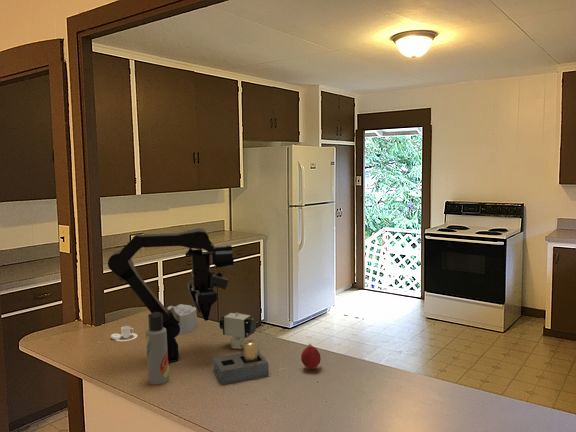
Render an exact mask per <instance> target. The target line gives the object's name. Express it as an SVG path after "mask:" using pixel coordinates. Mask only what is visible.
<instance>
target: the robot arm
mask: <svg viewBox="0 0 576 432" xmlns="http://www.w3.org/2000/svg"><path fill="white" fill-rule="evenodd" d="M160 247H162V248H163V247H184V248H188V250H187V251H186V252H184V253H185V254H184V255H185V257H190V258H191V271H190V274H191V277H192V279H190V280H189V281H188V282H187V289H188V293H189V294H190V296H191V298H192V300H193V302H194V304H195V308H196V310H197V311H198V313H200V314H201V316H202V318H203V320H204V321H205V322H206V321H209V319H210V314H211V308H212V305H214V303H216V302H217V301H219V294H218V292H216V291H215V290H214V288H219V289H222V290H227V288H228V285H229V282H230V280H229V279H228V278H227V277H225V276H223V273H222V272H220V271H216V272H215V273H213V272H212V271H211V265H214V266H215V268H232V267H234V264H235V262H234V254H233V246H232V245H231V244H229V245H223V246H215V245H214V243H213V242H212V241H211V240H210V238H209V234H208V231H206V230H205V229H204V228H201V227H200V228H198V227H197V228H195V229H189V230H185V231H182V232H175V233H173V232H172V233H150V234H149V233H146V234H142V233H136V234H134V236H133V237H132V238H131V240H129V241H128V242H127V244H125V246H124V247H123V248H122V249H121V250H116V251H114V252H113V253H112V254H111V255H110V257H109V258H108V260H107V266H108V269H109V270H110V271H111V272H112V273H114V274H115V275H116V276H117V277H118V278H120V279H121V280H123V281H125V282H126V283H127V284H128V286H129V287H130V289H131V290H132V291H133V292H134V293H135V294H136V296H137V297H138V299H140V300H141V302H142V303H143V304H144V305H145V307H146V308H147V310H148V311H149V312H150V314H151V313H154V312H160V313H161V314H162V321H163V327H164V328H166V332H167V350H168V363H172V362H177V361H179V358H178V357H179V355H180V354H179V351H180V350H179V344H178V341H177V339H176V337H178V336H179V335H178V334H179V332H180V315H178V314H177V313H176V312H175V310H174V308H173V307H174V306H173V307H172V308H171V309H170V310H169V309H167V308H168V307H165V305H164V304H162V302H161V301H160V300H159V298H158V297H157V296H156V294H155V293H154V292H153V291H152V289H151V288H150V287H149V286H148V284H147V283H146V282H145V280H144V279H143V278H142V277H141V275H140V274H139V273H138V271H137V269H136V266H135V264H134V261H133V259H132V257H134V256H135V254H136V253H137V252H138V251H140V250H141V248H160ZM210 257H211V258H210Z"/></svg>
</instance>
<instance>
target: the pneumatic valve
mask: <svg viewBox="0 0 576 432" xmlns="http://www.w3.org/2000/svg"><path fill="white" fill-rule="evenodd" d="M219 329H220V330H222V336H223V335H224V336H230V337H231V338H230V340H229V343H230V346H231V349H235V350H242V349H244V346H243V342H244V341H247V338H249V336H251V335H254V334H255V332H256V330H257V322H256V320H254V318H253V315H252V314H251V315H250V314H244V313H240V312H235V313H234V312H229V313H226V314H225V315H223V316H222V317H221V318H220V319H219Z"/></svg>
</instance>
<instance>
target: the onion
mask: <svg viewBox="0 0 576 432" xmlns="http://www.w3.org/2000/svg"><path fill="white" fill-rule="evenodd" d="M321 357H322V356H321V354H320V352H319V350H318V349H317V347H315V346H313V345H312V343H308V346H306V347H305V348H304V349H303V350H302V352H301V357H300V362H301V363H302V365H303V366H304V367H305V368H307V369H308V370H310V371H312V370H314V369H315V368H317V366H319V365H320V363H321Z"/></svg>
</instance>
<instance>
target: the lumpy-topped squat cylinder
mask: <svg viewBox="0 0 576 432" xmlns="http://www.w3.org/2000/svg"><path fill="white" fill-rule="evenodd" d="M172 307H173V308H174V310H175V312H176V313H177V314H178V315H180V332H179V334H178V335H177V336H180V335H181V334H182V335H185V333H186V334H188V332H189V333H191V332H192V331H194V330H196V329H197V328H198V316H197V307H196V306H192V305H190V304H189V305H188V304H182V303H180V304H179V303H178V305H176V306H173V305H169V306H168V307H166V308H167V309H169V310H170V309H171V308H172ZM182 335H181V336H182Z"/></svg>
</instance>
